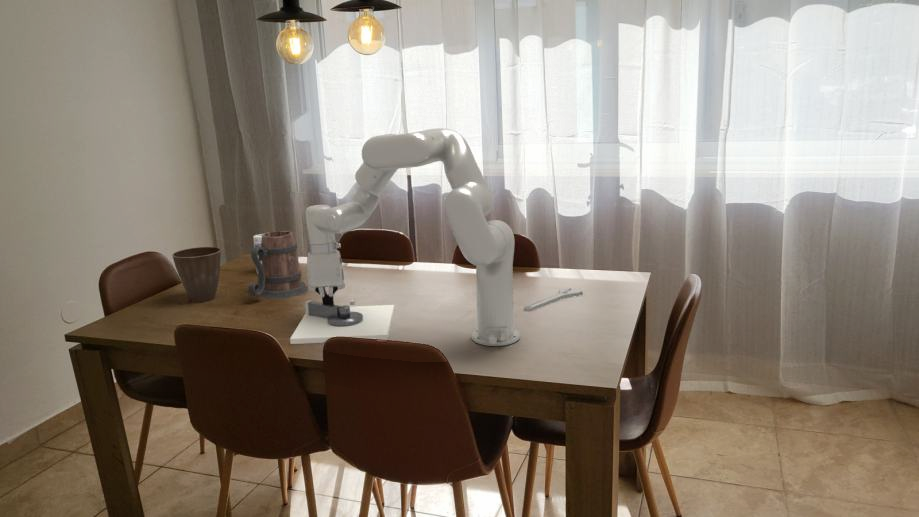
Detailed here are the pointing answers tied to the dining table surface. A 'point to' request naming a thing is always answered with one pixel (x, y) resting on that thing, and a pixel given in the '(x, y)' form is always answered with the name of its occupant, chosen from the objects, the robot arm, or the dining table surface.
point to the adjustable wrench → (553, 298)
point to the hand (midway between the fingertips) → (328, 308)
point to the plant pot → (199, 271)
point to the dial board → (370, 327)
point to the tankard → (277, 267)
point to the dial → (333, 313)
